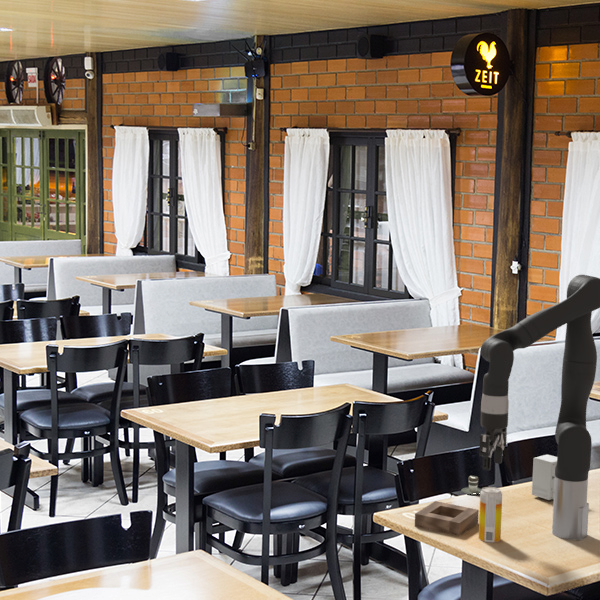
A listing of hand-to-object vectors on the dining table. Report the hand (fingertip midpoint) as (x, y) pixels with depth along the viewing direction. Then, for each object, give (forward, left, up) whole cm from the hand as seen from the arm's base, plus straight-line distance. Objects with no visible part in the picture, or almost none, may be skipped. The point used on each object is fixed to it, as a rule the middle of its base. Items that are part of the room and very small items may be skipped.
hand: (492, 466), depth 272 cm
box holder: (+15, -4, -22) cm, 27 cm away
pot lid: (+22, -41, -22) cm, 52 cm away
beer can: (0, 0, -22) cm, 22 cm away
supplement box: (0, -50, -22) cm, 54 cm away
